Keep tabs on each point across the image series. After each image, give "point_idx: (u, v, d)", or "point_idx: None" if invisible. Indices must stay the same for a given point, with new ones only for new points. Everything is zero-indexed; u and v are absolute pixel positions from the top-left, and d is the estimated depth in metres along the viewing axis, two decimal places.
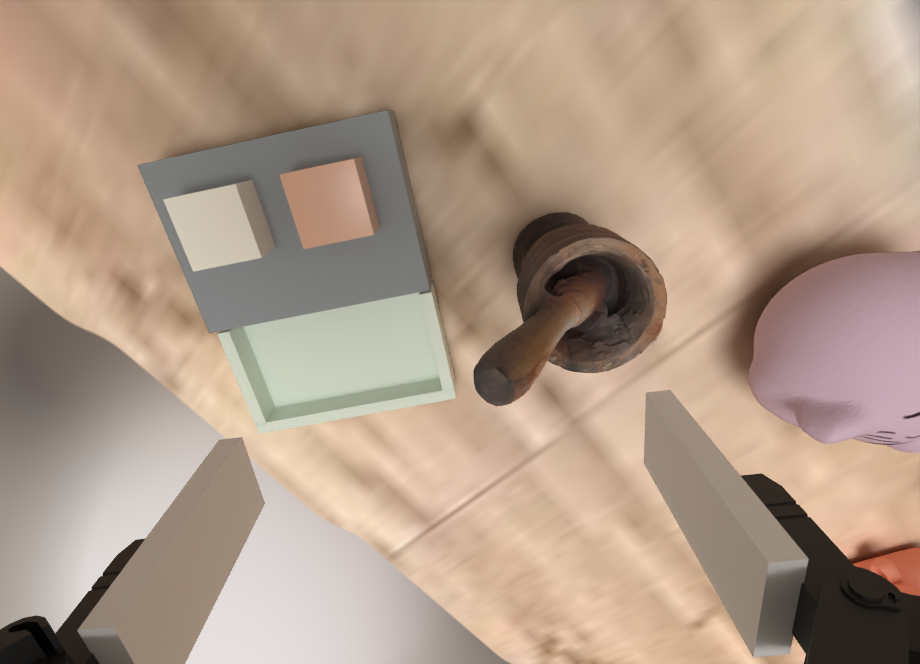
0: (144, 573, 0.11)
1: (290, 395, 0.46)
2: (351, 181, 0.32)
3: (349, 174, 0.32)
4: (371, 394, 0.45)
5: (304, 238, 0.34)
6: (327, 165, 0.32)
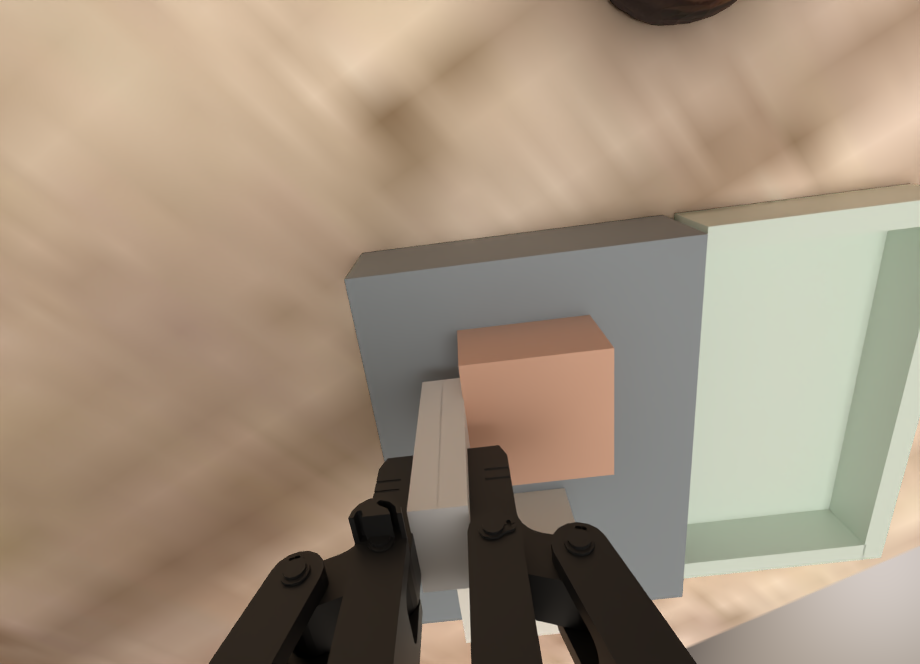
0: (434, 474, 0.13)
1: (816, 484, 0.26)
2: (500, 376, 0.16)
3: (487, 377, 0.16)
4: (875, 362, 0.23)
5: (594, 469, 0.18)
6: (466, 412, 0.17)
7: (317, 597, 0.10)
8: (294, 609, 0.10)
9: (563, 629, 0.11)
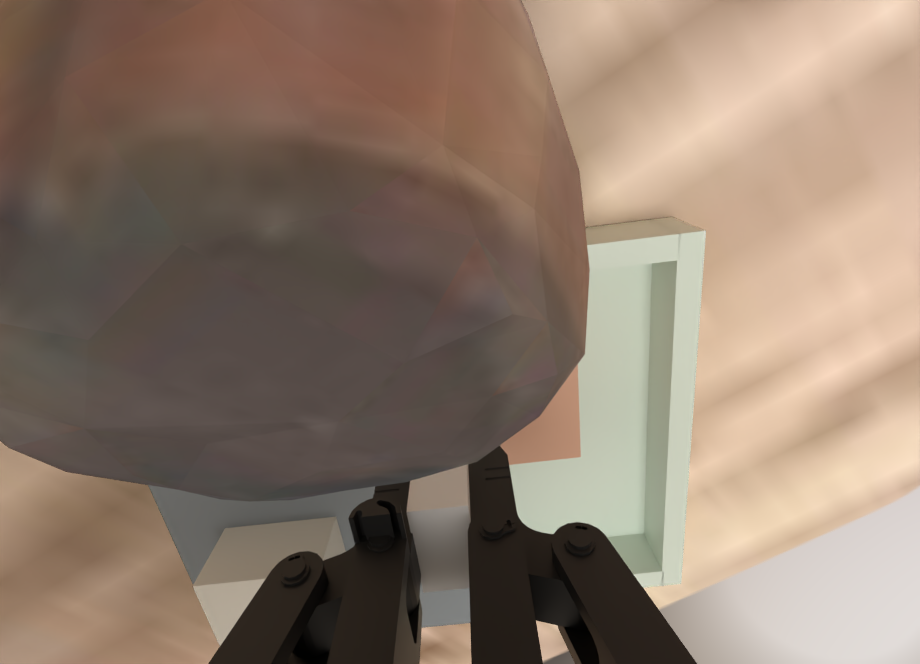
0: (434, 474, 0.13)
1: (626, 509, 0.26)
2: None
3: None
4: (655, 391, 0.23)
5: None
6: (577, 382, 0.18)
7: (317, 597, 0.10)
8: (294, 609, 0.10)
9: (563, 629, 0.11)
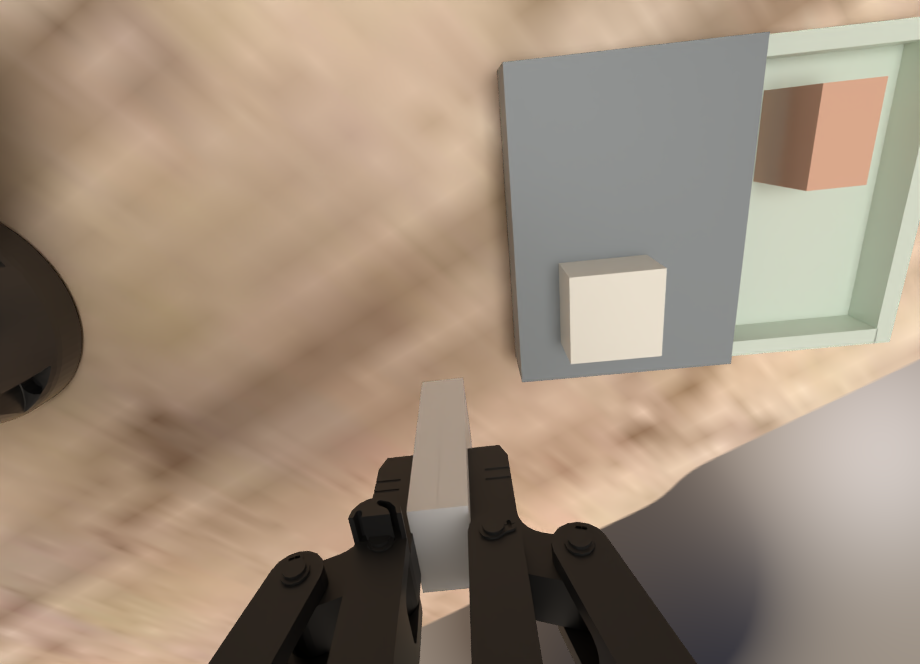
0: (434, 474, 0.13)
1: (838, 290, 0.33)
2: None
3: None
4: (888, 171, 0.29)
5: None
6: (878, 116, 0.24)
7: (317, 597, 0.10)
8: (294, 609, 0.10)
9: (563, 629, 0.11)
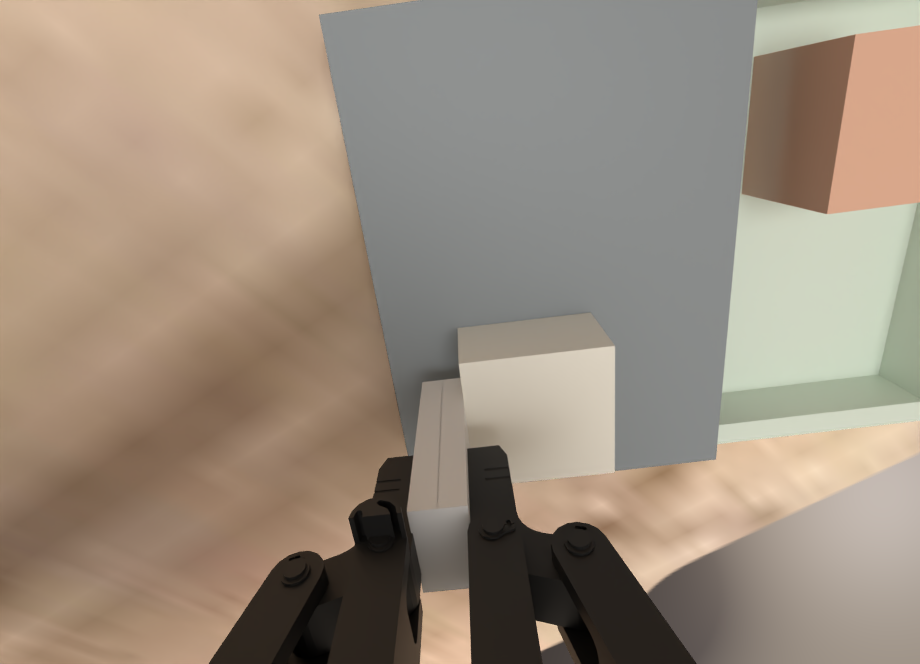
0: (434, 474, 0.13)
1: (865, 343, 0.23)
2: None
3: None
4: None
5: None
6: None
7: (317, 597, 0.10)
8: (294, 609, 0.10)
9: (563, 629, 0.11)
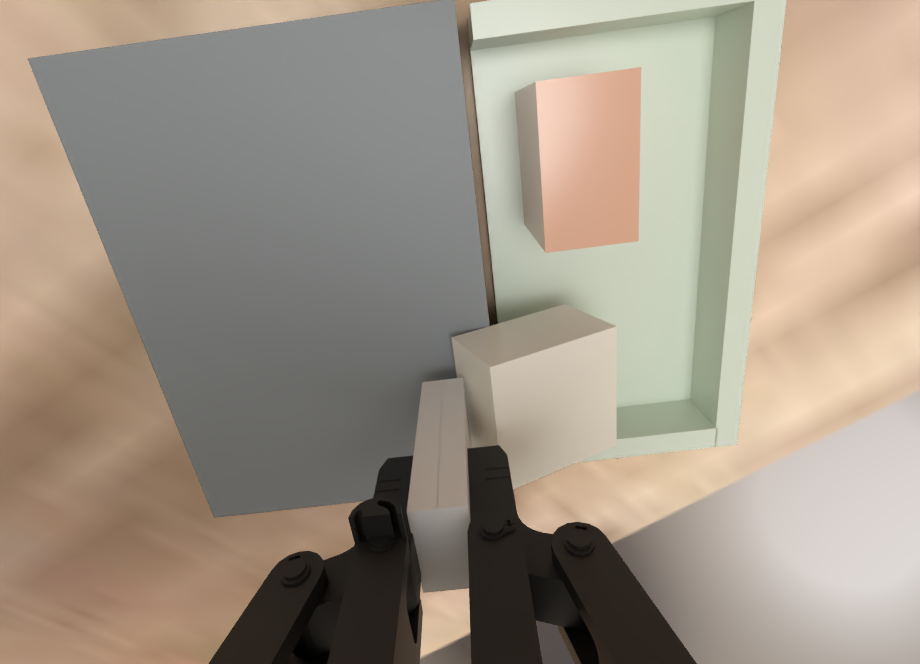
0: (434, 474, 0.13)
1: (671, 368, 0.23)
2: None
3: None
4: (712, 206, 0.20)
5: None
6: (638, 134, 0.15)
7: (317, 597, 0.10)
8: (294, 609, 0.10)
9: (563, 629, 0.11)
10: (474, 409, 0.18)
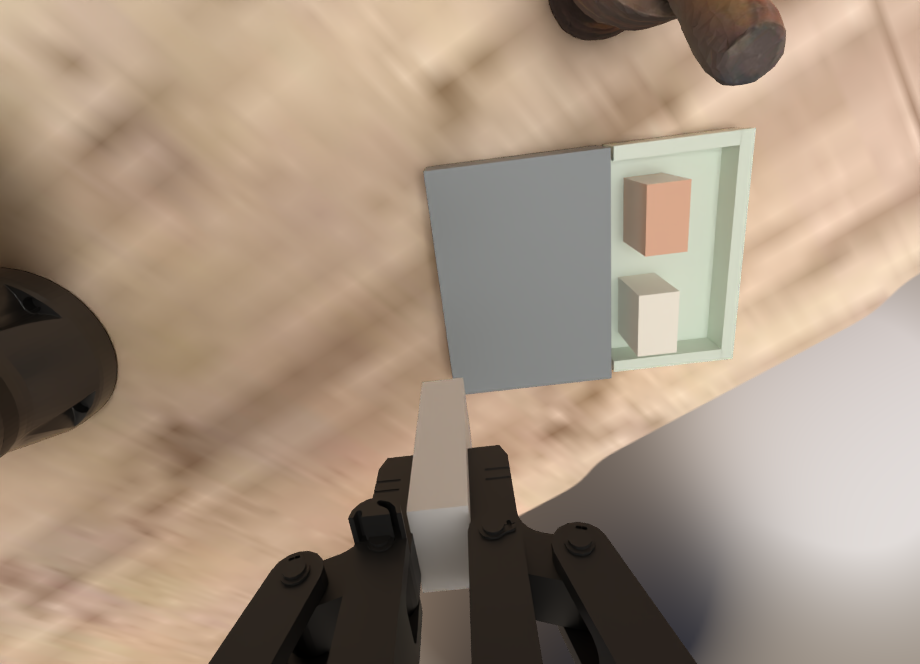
0: (434, 474, 0.13)
1: (697, 319, 0.43)
2: None
3: None
4: (720, 233, 0.39)
5: None
6: (689, 205, 0.34)
7: (317, 597, 0.10)
8: (294, 609, 0.10)
9: (563, 629, 0.11)
10: (656, 323, 0.38)
